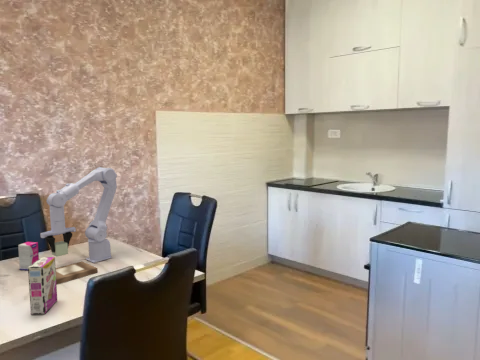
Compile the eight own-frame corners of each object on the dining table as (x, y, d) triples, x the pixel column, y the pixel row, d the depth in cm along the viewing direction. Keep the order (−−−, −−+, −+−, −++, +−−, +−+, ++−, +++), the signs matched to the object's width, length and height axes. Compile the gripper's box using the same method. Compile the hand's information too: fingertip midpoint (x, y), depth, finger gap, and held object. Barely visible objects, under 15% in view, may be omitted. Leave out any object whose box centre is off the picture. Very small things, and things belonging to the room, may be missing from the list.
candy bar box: (46, 314, 130) (42, 266, 128) (30, 315, 130) (26, 267, 128) (58, 300, 141) (55, 256, 139) (44, 300, 141) (40, 256, 139)
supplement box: (30, 270, 172) (28, 245, 171) (19, 270, 173) (17, 245, 172) (40, 266, 178) (38, 241, 176) (28, 265, 179) (26, 241, 178)
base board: (82, 265, 178) (81, 260, 178) (97, 272, 169) (97, 267, 169) (41, 276, 165) (40, 271, 165) (55, 284, 156) (54, 279, 155)
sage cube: (63, 251, 177) (62, 240, 176) (68, 253, 173) (67, 243, 173) (52, 254, 173) (51, 243, 173) (56, 256, 170) (55, 245, 169)
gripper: (70, 216, 179) (72, 245, 181) (36, 222, 169) (39, 252, 170) (77, 218, 175) (79, 248, 176) (43, 224, 164) (45, 255, 166)
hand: (59, 250), depth 173 cm, fingers closed on sage cube, 5 cm apart
